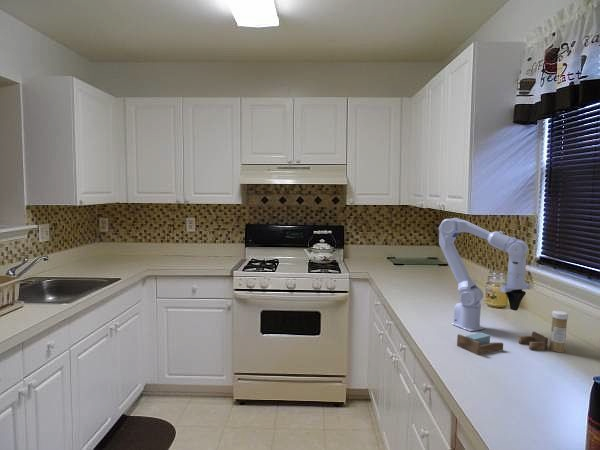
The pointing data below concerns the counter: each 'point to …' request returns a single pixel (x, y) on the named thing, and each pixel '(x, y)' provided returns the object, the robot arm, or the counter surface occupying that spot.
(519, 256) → the robot arm
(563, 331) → the sprinkles bottle
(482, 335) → the pale teal block
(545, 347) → the brown stepped block
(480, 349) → the endcap rail
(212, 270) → the counter surface
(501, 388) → the counter surface
